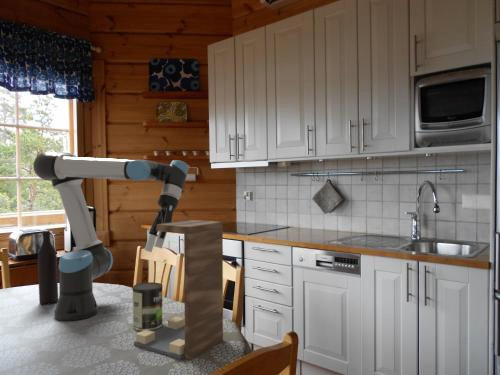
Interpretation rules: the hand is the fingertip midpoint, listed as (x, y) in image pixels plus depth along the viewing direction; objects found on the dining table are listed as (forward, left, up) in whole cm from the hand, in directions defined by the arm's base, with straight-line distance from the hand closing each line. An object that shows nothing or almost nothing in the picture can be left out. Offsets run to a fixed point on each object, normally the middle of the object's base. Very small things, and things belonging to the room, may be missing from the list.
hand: (152, 249), depth 148 cm
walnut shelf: (+29, -12, -25) cm, 40 cm away
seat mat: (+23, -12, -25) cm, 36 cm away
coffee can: (+5, -8, -26) cm, 27 cm away
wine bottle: (-50, -10, -25) cm, 57 cm away
